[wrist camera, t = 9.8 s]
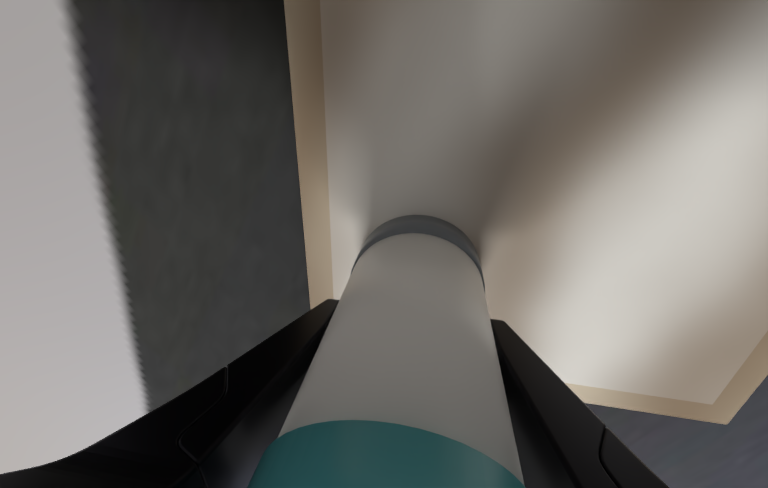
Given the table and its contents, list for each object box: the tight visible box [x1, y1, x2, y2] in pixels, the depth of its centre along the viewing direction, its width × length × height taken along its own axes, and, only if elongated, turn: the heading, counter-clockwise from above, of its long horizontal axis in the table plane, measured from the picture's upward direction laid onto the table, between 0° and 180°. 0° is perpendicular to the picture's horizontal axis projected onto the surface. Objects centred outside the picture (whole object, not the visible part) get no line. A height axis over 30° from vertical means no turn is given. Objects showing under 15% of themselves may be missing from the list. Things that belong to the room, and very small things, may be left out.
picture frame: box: [284, 0, 768, 425], centre depth 8 cm, size 16×20×1 cm
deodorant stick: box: [247, 215, 526, 488], centre depth 7 cm, size 4×4×9 cm
